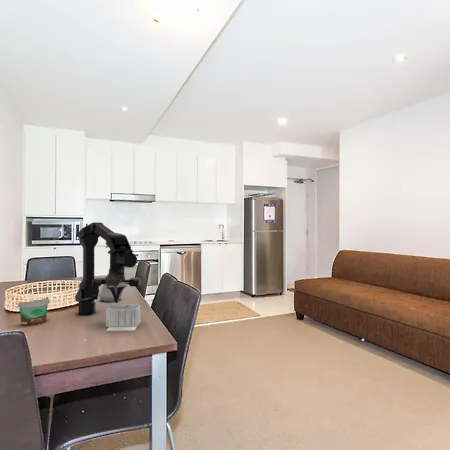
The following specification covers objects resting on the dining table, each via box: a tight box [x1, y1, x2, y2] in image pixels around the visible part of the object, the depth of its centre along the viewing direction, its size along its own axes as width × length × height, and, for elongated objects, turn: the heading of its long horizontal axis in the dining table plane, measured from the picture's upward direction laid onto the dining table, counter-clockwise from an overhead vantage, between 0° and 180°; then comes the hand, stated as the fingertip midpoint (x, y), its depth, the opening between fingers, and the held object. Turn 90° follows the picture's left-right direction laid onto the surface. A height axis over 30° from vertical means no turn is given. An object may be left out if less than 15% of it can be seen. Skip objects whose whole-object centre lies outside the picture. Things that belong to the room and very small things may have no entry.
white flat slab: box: [106, 319, 142, 332], centre depth 134 cm, size 11×13×1 cm
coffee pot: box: [98, 276, 123, 303], centre depth 181 cm, size 21×12×15 cm, turn 20°
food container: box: [17, 296, 50, 327], centre depth 135 cm, size 12×6×10 cm, turn 148°
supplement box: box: [105, 304, 141, 328], centre depth 134 cm, size 7×7×13 cm
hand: (116, 302), depth 133 cm, fingers closed
